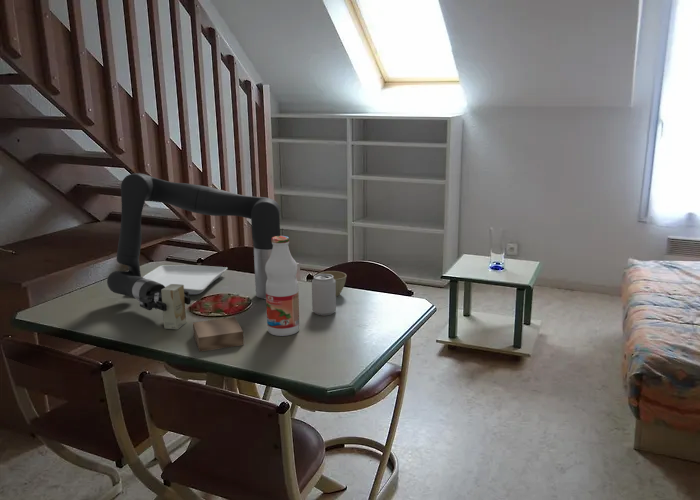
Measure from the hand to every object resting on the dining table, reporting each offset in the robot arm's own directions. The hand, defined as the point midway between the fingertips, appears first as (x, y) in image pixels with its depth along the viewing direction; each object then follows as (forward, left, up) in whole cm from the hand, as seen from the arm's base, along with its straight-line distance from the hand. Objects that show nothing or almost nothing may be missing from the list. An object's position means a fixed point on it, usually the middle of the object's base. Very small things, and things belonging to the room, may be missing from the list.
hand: (177, 304), depth 180 cm
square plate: (-5, -43, -8) cm, 44 cm away
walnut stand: (-9, +14, -7) cm, 18 cm away
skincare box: (+1, -2, -7) cm, 8 cm away
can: (-44, +4, -8) cm, 45 cm away
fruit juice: (-28, +14, -8) cm, 32 cm away
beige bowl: (-52, -11, -8) cm, 54 cm away
